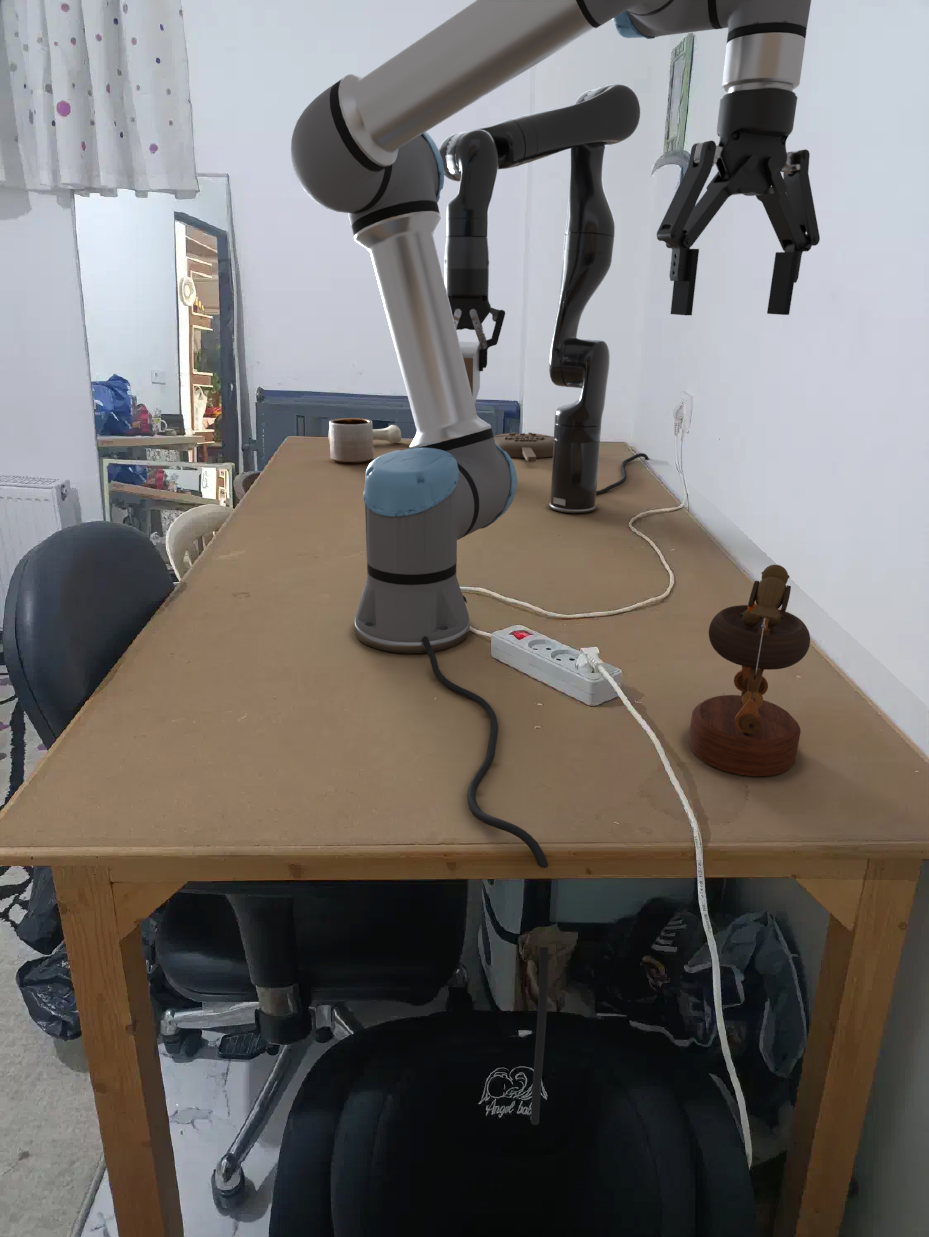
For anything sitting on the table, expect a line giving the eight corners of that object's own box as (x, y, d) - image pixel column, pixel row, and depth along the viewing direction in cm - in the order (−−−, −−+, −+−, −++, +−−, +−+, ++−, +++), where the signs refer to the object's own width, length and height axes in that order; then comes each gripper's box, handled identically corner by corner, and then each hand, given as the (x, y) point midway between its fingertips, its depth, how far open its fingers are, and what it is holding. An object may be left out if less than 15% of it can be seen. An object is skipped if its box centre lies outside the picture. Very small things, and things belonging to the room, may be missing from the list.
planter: (327, 456, 217) (325, 418, 214) (369, 454, 220) (368, 417, 217) (334, 465, 208) (332, 425, 204) (377, 463, 211) (376, 424, 207)
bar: (472, 412, 128) (473, 358, 125) (440, 412, 128) (440, 357, 125) (479, 388, 154) (480, 342, 150) (453, 387, 154) (453, 341, 151)
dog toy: (400, 440, 239) (399, 422, 237) (402, 444, 234) (401, 426, 232) (328, 441, 236) (327, 423, 234) (328, 445, 231) (327, 427, 229)
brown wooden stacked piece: (818, 789, 79) (839, 589, 72) (698, 789, 81) (706, 593, 73) (780, 711, 93) (794, 537, 86) (678, 712, 95) (683, 541, 87)
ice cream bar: (489, 467, 208) (489, 450, 207) (482, 445, 234) (482, 430, 233) (574, 467, 209) (575, 450, 208) (557, 446, 235) (558, 430, 234)
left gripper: (822, 109, 94) (791, 312, 102) (635, 87, 84) (617, 313, 92) (878, 98, 87) (840, 315, 95) (682, 72, 78) (658, 316, 86)
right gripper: (509, 267, 146) (506, 369, 153) (426, 266, 147) (427, 367, 153) (508, 267, 139) (505, 374, 146) (422, 266, 140) (423, 372, 146)
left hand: (730, 315), depth 94 cm, fingers open, 13 cm apart
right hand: (465, 370), depth 150 cm, fingers closed on bar, 4 cm apart
